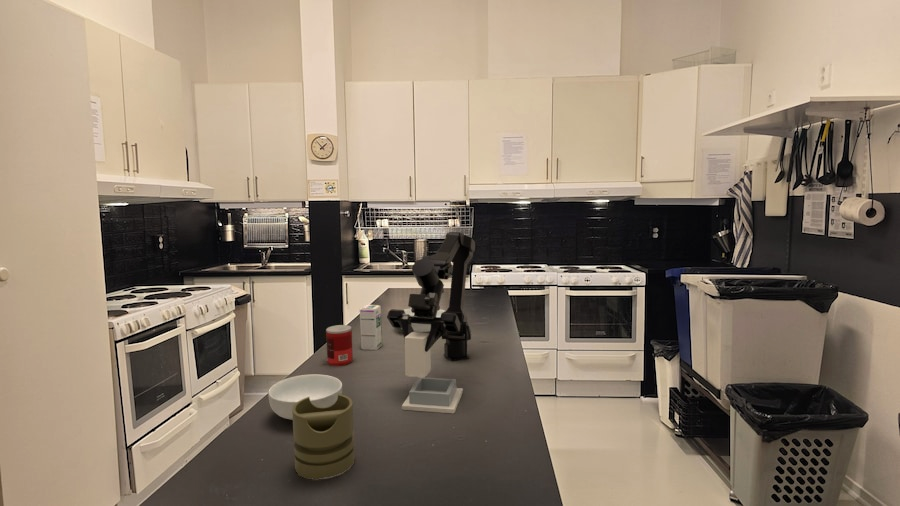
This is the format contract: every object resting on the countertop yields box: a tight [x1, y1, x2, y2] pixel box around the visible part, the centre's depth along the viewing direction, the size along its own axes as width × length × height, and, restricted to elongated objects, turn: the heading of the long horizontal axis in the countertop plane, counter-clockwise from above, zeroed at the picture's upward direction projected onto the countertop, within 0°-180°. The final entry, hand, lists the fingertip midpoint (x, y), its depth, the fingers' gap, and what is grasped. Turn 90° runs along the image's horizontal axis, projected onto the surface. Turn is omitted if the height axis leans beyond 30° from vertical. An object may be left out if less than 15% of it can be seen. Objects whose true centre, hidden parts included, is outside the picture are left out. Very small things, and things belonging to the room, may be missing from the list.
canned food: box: [325, 324, 354, 367], centre depth 154 cm, size 8×8×11 cm
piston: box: [292, 394, 355, 479], centre depth 95 cm, size 11×12×11 cm
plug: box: [404, 332, 432, 378], centre depth 124 cm, size 5×5×10 cm
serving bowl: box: [403, 307, 445, 333], centre depth 190 cm, size 21×21×7 cm
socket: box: [401, 377, 464, 414], centre depth 125 cm, size 13×13×4 cm
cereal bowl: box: [267, 373, 343, 421], centre depth 117 cm, size 17×17×7 cm
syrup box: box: [359, 304, 384, 351], centre depth 168 cm, size 6×6×14 cm
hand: (415, 350), depth 123 cm, fingers closed on plug, 5 cm apart
